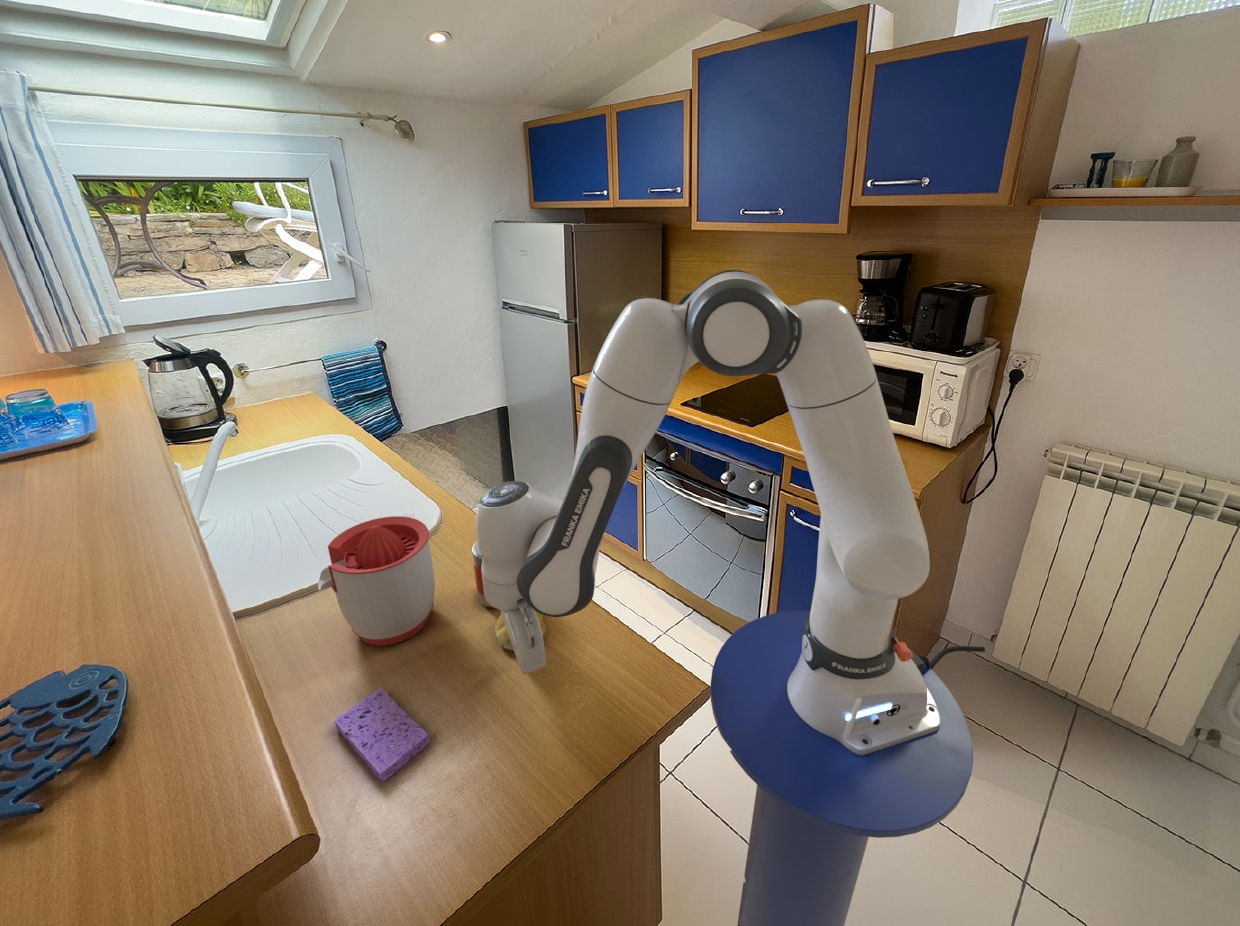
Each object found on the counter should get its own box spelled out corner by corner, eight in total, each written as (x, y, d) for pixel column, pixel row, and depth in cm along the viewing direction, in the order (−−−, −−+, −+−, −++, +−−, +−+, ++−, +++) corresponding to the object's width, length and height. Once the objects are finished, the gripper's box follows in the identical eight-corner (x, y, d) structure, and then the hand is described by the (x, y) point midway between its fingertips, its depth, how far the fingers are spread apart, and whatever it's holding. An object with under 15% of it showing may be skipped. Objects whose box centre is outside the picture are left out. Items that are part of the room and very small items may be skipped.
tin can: (522, 579, 106) (518, 531, 101) (518, 607, 99) (513, 556, 94) (482, 581, 105) (475, 533, 101) (474, 610, 98) (467, 559, 94)
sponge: (383, 695, 81) (381, 686, 80) (431, 743, 74) (429, 733, 73) (335, 729, 76) (332, 719, 75) (382, 784, 69) (379, 774, 68)
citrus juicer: (332, 612, 97) (306, 518, 89) (434, 582, 105) (418, 492, 97) (335, 675, 84) (305, 571, 76) (450, 635, 92) (433, 537, 84)
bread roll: (539, 609, 98) (537, 591, 97) (549, 644, 91) (547, 625, 89) (492, 620, 96) (490, 602, 94) (498, 657, 88) (496, 638, 86)
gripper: (553, 619, 75) (558, 691, 80) (517, 540, 92) (523, 604, 97) (508, 634, 72) (516, 708, 77) (479, 550, 89) (488, 615, 94)
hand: (520, 650), depth 87 cm, fingers closed
